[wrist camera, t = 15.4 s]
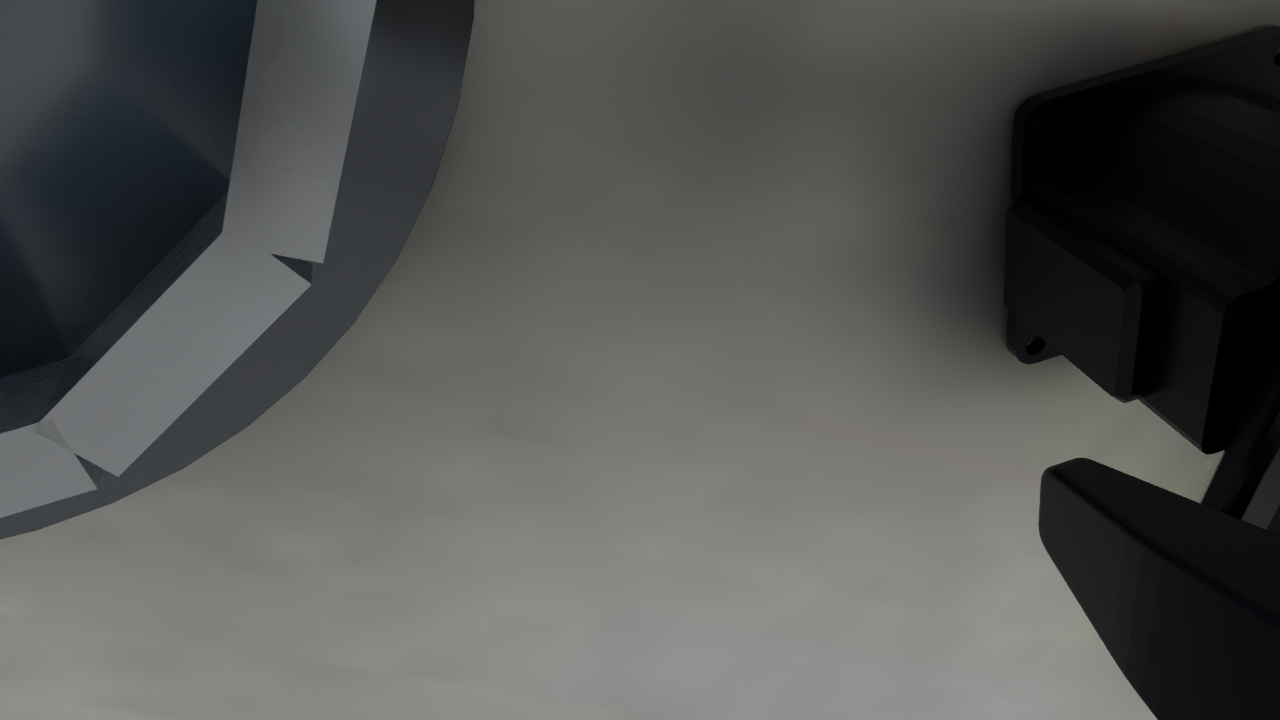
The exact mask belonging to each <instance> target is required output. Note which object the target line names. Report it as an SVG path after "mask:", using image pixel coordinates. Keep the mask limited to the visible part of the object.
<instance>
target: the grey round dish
mask: <svg viewBox="0 0 1280 720" xmlns="http://www.w3.org/2000/svg"><path fill="white" fill-rule="evenodd" d="M473 18H474V0H0V539H3V538H7V537H11V536H15V535H19V534H23V533H27V532H31V531H36V530H39V529H41V528H44V527H47V526H50V525H53V524H55V523H58V522H61V521H64V520H66V519H69V518H72V517H75V516H78V515H80V514H83V513H86V512H89V511H91V510H94V509H97V508H100V507H103V506H105V505H108V504H111V503H114V502H116V501H118V500H120V499H122V498H124V497H126V496H128V495H130V494H132V493H134V492H136V491H138V490H140V489H142V488H144V487H146V486H148V485H150V484H152V483H154V482H156V481H158V480H160V479H162V478H165V477H167V476H169V475H171V474H173V473H175V472H177V471H179V470H181V469H183V468H185V467H186V466H188V465H189V464H191V463H192V462H194V461H195V460H197V459H198V458H200V457H201V456H203V455H205V454H206V453H208V452H209V451H211V450H212V449H214V448H215V447H217V446H218V445H220V444H221V443H223V442H225V441H226V440H228V439H229V438H231V437H232V436H234V435H235V434H237V433H238V432H240V431H241V430H243V429H244V428H246V427H247V426H249V425H250V424H251V423H252V422H253V421H255V420H256V419H257V418H258V417H259V416H260V415H262V414H263V413H264V412H265V411H266V410H267V409H269V408H270V407H271V406H272V405H273V404H275V403H276V402H277V401H278V400H279V399H280V398H282V397H283V396H284V395H285V394H286V393H287V392H289V391H290V390H291V389H292V388H293V387H294V386H296V385H297V384H298V383H299V382H300V381H302V380H303V379H304V378H305V377H306V376H307V375H308V373H309V372H310V371H311V370H312V369H313V368H314V367H315V366H316V365H317V363H318V362H319V361H320V360H321V359H322V358H323V357H324V356H325V354H326V353H327V352H328V351H329V350H330V349H331V348H332V347H333V346H334V344H335V343H336V342H337V341H338V340H339V339H340V338H341V337H342V336H343V334H344V333H345V332H346V331H347V330H348V329H349V328H350V327H351V325H352V324H353V323H354V322H355V321H356V319H357V318H358V316H359V315H360V313H361V312H362V310H363V309H364V307H365V306H366V304H367V303H368V301H369V300H370V298H371V297H372V295H373V294H374V292H375V291H376V289H377V288H378V286H379V285H380V283H381V282H382V280H383V279H384V277H385V276H386V274H387V273H388V271H389V270H390V268H391V267H392V266H393V264H394V263H395V261H396V260H397V258H398V256H399V254H400V252H401V249H402V247H403V245H404V243H405V241H406V239H407V237H408V235H409V233H410V231H411V229H412V227H413V225H414V223H415V221H416V218H417V216H418V214H419V212H420V210H421V208H422V206H423V204H424V202H425V200H426V198H427V196H428V194H429V192H430V190H431V188H432V185H433V181H434V178H435V175H436V172H437V169H438V166H439V163H440V160H441V157H442V154H443V150H444V147H445V144H446V141H447V138H448V135H449V132H450V129H451V126H452V123H453V119H454V116H455V113H456V110H457V107H458V101H459V96H460V90H461V85H462V79H463V74H464V68H465V62H466V57H467V51H468V46H469V40H470V34H471V29H472V23H473Z"/></svg>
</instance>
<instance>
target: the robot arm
mask: <svg viewBox="0 0 1280 720" xmlns="http://www.w3.org/2000/svg"><path fill="white" fill-rule="evenodd" d="M1279 48H1280V26H1274V27H1270V28H1267V29H1263V30H1260V31H1256V32H1253V33H1249V34H1246V35H1242V36H1239V37H1235V38H1232V39H1228V40H1225V41H1221V42H1218V43H1214V44H1211V45H1207V46H1204V47H1200V48H1197V49H1193V50H1190V51H1186V52H1183V53H1179V54H1176V55H1172V56H1169V57H1165V58H1162V59H1158V60H1155V61H1151V62H1148V63H1144V64H1141V65H1137V66H1133V67H1130V68H1126V69H1123V70H1119V71H1116V72H1112V73H1109V74H1105V75H1102V76H1098V77H1095V78H1091V79H1088V80H1084V81H1081V82H1077V83H1074V84H1070V85H1067V86H1063V87H1060V88H1056V89H1053V90H1049V91H1046V92H1042V93H1039V94H1035V95H1033V96H1031V97H1029V98H1027V99H1026V100H1025V101H1024V102H1023V103H1022V104H1021V105H1020V106H1019V108H1018V110H1017V111H1016V113H1015V115H1014V120H1013V133H1012V170H1011V202H1010V204H1009V207H1008V209H1007V212H1006V241H1005V282H1004V305H1005V307H1006V308H1007V309H1008V318H1007V347H1008V350H1009V351H1010V352H1011V353H1012V354H1013V355H1014V356H1015V357H1016V358H1017V359H1018V360H1019V361H1020V362H1022V363H1025V364H1033V363H1037V362H1040V361H1043V360H1047V359H1050V358H1053V357H1056V356H1059V355H1063V356H1064V357H1066V358H1067V359H1068V360H1069V361H1070V362H1071V363H1073V364H1074V365H1075V366H1076V367H1077V368H1079V369H1080V370H1081V371H1082V372H1083V373H1085V374H1086V375H1087V376H1088V377H1089V378H1090V379H1092V380H1093V381H1094V382H1095V383H1096V384H1098V385H1099V386H1100V387H1101V388H1102V389H1104V390H1105V391H1106V392H1107V393H1108V394H1110V395H1111V396H1112V397H1114V398H1116V399H1117V400H1119V401H1121V402H1123V403H1126V402H1129V401H1133V400H1136V399H1138V400H1139V401H1141V402H1142V403H1143V404H1144V405H1146V406H1147V407H1148V408H1149V409H1150V410H1152V411H1153V412H1154V413H1155V414H1157V415H1158V416H1159V417H1160V418H1161V419H1163V420H1164V421H1165V422H1166V423H1168V424H1169V425H1170V426H1171V427H1172V428H1174V429H1175V430H1176V431H1177V432H1179V433H1180V434H1181V435H1182V436H1183V437H1185V438H1186V439H1187V440H1188V441H1190V442H1191V443H1192V444H1193V445H1194V446H1196V447H1197V448H1198V449H1199V450H1201V451H1202V452H1203V453H1205V454H1214V453H1217V452H1220V451H1223V450H1225V451H1224V453H1223V455H1222V457H1221V460H1220V462H1219V464H1218V466H1217V468H1216V470H1215V472H1214V474H1213V477H1212V479H1211V481H1210V483H1209V485H1208V487H1207V489H1206V491H1205V494H1204V496H1203V498H1202V500H1201V502H1200V503H1198V502H1195V501H1193V500H1190V499H1188V498H1185V497H1183V496H1180V495H1178V494H1175V493H1173V492H1170V491H1168V490H1165V489H1163V488H1160V487H1158V486H1155V485H1153V484H1150V483H1148V482H1145V481H1143V480H1140V479H1138V478H1135V477H1133V476H1130V475H1128V474H1125V473H1123V472H1120V471H1118V470H1115V469H1113V468H1110V467H1108V466H1105V465H1103V464H1100V463H1098V462H1095V461H1093V460H1090V459H1086V458H1076V459H1072V460H1069V461H1066V462H1063V463H1060V464H1057V465H1054V466H1051V467H1049V468H1047V469H1046V470H1045V471H1044V473H1043V474H1042V477H1041V488H1040V506H1039V533H1040V537H1041V540H1042V543H1043V545H1044V547H1045V549H1046V551H1047V552H1048V554H1049V556H1050V557H1051V559H1052V561H1053V562H1054V564H1055V565H1056V567H1057V569H1058V570H1059V572H1060V573H1061V575H1062V577H1063V578H1064V580H1065V582H1066V583H1067V585H1068V586H1069V588H1070V590H1071V591H1072V593H1073V594H1074V596H1075V598H1076V599H1077V601H1078V603H1079V604H1080V606H1081V607H1082V609H1083V611H1084V612H1085V614H1086V616H1087V617H1088V619H1089V620H1090V622H1091V624H1092V625H1093V627H1094V628H1095V630H1096V632H1097V633H1098V635H1099V637H1100V638H1101V640H1102V641H1103V643H1104V645H1105V646H1106V648H1107V650H1108V651H1109V653H1110V654H1111V656H1112V657H1113V659H1114V660H1115V662H1116V664H1117V665H1118V667H1119V668H1120V670H1121V671H1122V673H1123V674H1124V676H1125V677H1126V678H1127V680H1128V681H1129V682H1130V684H1131V685H1132V687H1133V688H1134V689H1135V691H1136V692H1137V693H1138V695H1139V696H1140V697H1141V699H1142V700H1143V701H1144V703H1145V704H1146V705H1147V706H1148V708H1149V709H1150V710H1151V712H1152V713H1153V714H1154V715H1155V717H1156V718H1157V719H1158V720H1280V51H1279V53H1278V55H1277V56H1276V57H1275V54H1276V52H1277V50H1278V49H1279ZM1274 57H1275V58H1274ZM1045 112H1046V117H1045V121H1044V122H1043V123H1042V125H1041V126H1040V127H1038V128H1036V129H1035V124H1036V120H1037V119H1038V118H1039V116H1040V115H1041V114H1043V113H1045ZM1033 338H1035V339H1034V340H1033V342H1032V343H1031V344H1029V345H1027V344H1028V343H1029V341H1030V340H1031V339H1033Z"/></svg>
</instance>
